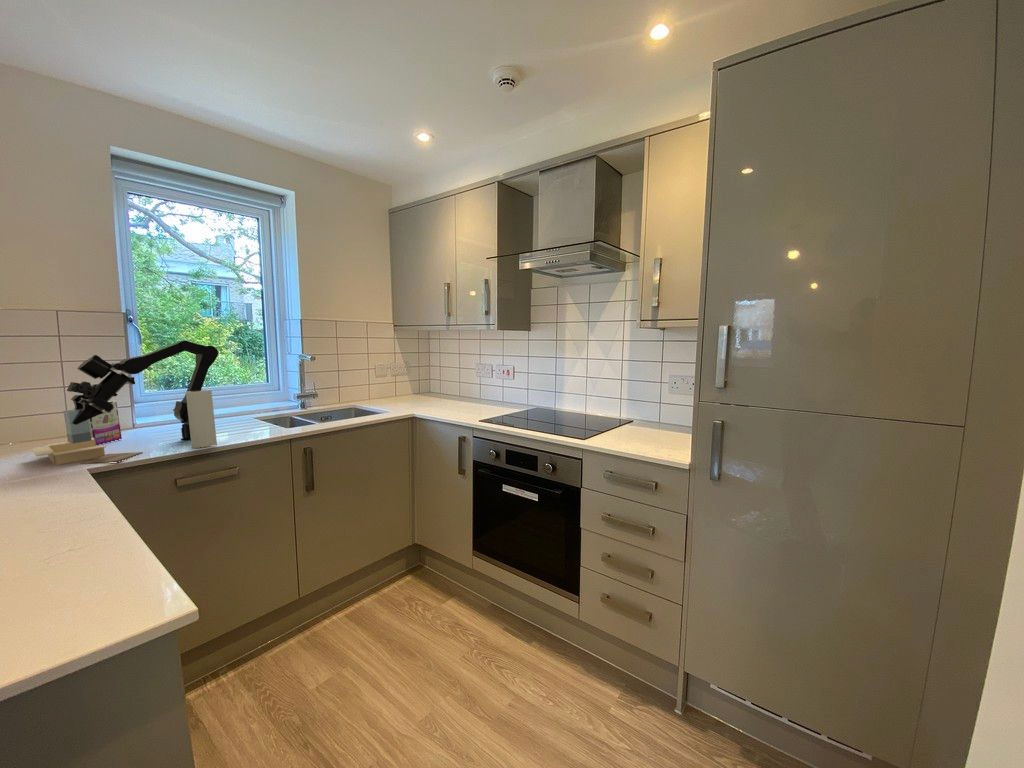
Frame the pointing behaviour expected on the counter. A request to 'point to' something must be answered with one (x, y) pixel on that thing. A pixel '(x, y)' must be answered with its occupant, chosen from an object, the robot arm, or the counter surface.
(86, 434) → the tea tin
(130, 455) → the board
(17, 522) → the counter surface
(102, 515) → the counter surface
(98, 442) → the candy bar box
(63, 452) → the carton
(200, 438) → the tall white block
